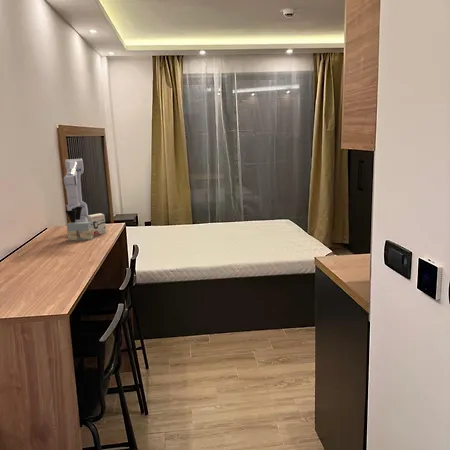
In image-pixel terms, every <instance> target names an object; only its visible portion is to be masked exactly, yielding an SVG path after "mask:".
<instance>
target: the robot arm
mask: <svg viewBox="0 0 450 450" xmlns="http://www.w3.org/2000/svg"><path fill="white" fill-rule="evenodd" d="M64 166H65V169H66V172H65V176H63V183H64V186H65V190H66V199H67V204H66V205H65V207H66V208H67V209H66V210H65V213H66V215H67V216H68V218H69V221H70V223H75V222H88V217H87V216H88V215H89V208H88V204H87V202H85V201H83V196H82V183H81V176H82V175H83V173H84V171H85V170H84V161H83V158H73V159H72V158H71V159H68V158H65V160H64ZM80 234H82V232H81V231H80Z"/></svg>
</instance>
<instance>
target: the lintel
mask: <svg viewBox="0 0 450 450" xmlns="http://www.w3.org/2000/svg"><path fill="white" fill-rule="evenodd" d="M66 229H67V231H84V230H90V229H91V222H75V223H71V222H68V223H66ZM67 231H66V232H67Z"/></svg>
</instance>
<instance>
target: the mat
mask: <svg viewBox="0 0 450 450" xmlns="http://www.w3.org/2000/svg"><path fill="white" fill-rule="evenodd" d="M97 237H98V235H94V238H92V239H84V240H82V235H80V238H79V239H78V240H68V239H66V240H65V242H81V241H82V242H84V241H93V240H95V238H97Z"/></svg>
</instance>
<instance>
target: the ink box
mask: <svg viewBox="0 0 450 450" xmlns="http://www.w3.org/2000/svg"><path fill="white" fill-rule="evenodd" d="M86 217H87V219H88V222H91V229H92V228H93V231H94V236H98V235H102V234H107V228H106V226H107V225H106V217H105V214H104V213H101V212H100V213H94V214H88V216H86Z"/></svg>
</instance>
